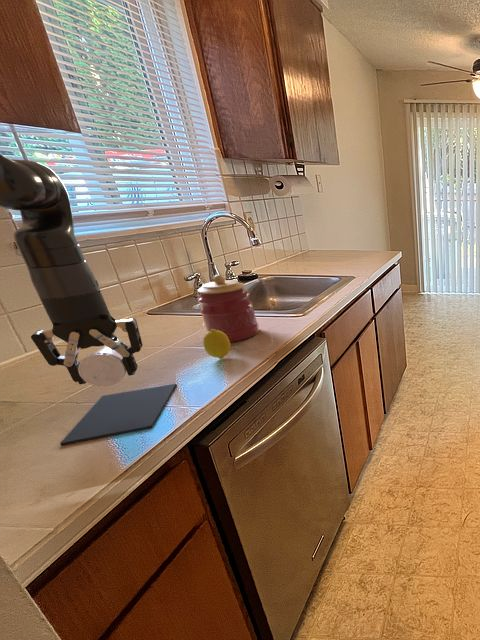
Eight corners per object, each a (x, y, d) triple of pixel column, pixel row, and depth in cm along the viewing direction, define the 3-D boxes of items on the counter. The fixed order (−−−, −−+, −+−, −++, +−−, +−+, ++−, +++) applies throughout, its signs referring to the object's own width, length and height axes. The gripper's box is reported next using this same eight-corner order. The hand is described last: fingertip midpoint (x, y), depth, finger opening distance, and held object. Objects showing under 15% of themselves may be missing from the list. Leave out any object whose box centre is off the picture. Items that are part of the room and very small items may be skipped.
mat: (61, 445, 68) (59, 443, 68) (103, 397, 83) (102, 395, 83) (152, 428, 73) (151, 425, 73) (176, 385, 88) (176, 383, 88)
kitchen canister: (198, 342, 112) (177, 279, 104) (232, 326, 123) (215, 269, 116) (238, 344, 110) (220, 281, 102) (269, 328, 121) (255, 270, 114)
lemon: (223, 364, 98) (214, 333, 95) (203, 362, 99) (193, 332, 96) (239, 355, 103) (230, 325, 100) (220, 353, 104) (211, 325, 101)
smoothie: (132, 336, 80) (116, 361, 69) (137, 365, 83) (123, 394, 72) (89, 337, 77) (65, 364, 66) (96, 368, 80) (74, 399, 68)
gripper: (-1, 302, 61) (49, 396, 68) (118, 289, 68) (153, 376, 75) (20, 291, 67) (64, 379, 74) (127, 280, 74) (159, 362, 81)
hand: (108, 377), depth 74 cm, fingers closed on smoothie, 6 cm apart
